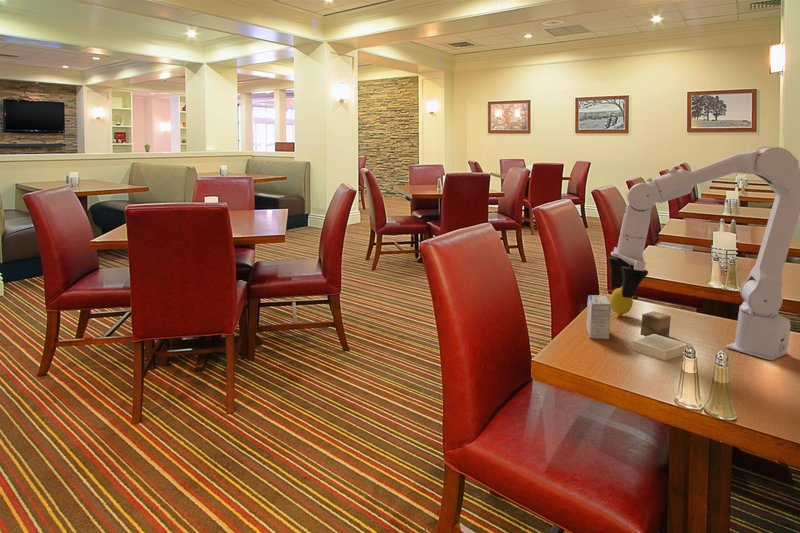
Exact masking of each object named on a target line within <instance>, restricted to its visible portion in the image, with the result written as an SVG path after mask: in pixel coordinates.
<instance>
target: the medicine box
mask: <svg viewBox="0 0 800 533" xmlns="http://www.w3.org/2000/svg"><path fill="white" fill-rule="evenodd" d="M586 305H587V306H586V320H585V321H586V322H585V329H586V331H587V334H588V337H589V339H595V340H609V339H610V331H611V330H610V328H611V316H612V315H611V314H612V308H611V304H610V300H609V298H608V297H607V296H606V295H599V294H598V295H597V294H595V295H594V294H592V295H591V294H588V296H587V304H586Z"/></svg>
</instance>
